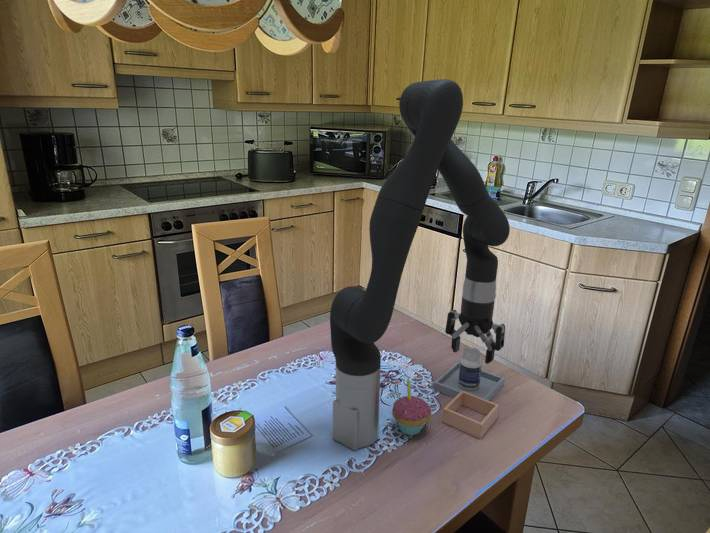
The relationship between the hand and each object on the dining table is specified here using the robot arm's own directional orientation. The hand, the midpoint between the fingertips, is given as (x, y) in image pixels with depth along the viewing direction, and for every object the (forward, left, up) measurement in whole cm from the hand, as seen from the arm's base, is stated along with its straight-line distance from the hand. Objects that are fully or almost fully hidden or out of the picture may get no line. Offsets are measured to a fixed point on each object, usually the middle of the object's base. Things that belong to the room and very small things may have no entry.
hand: (471, 356), depth 119 cm
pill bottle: (0, 0, -9) cm, 9 cm away
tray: (0, 0, -9) cm, 9 cm away
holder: (-12, -6, -9) cm, 16 cm away
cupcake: (-23, +3, -9) cm, 25 cm away
